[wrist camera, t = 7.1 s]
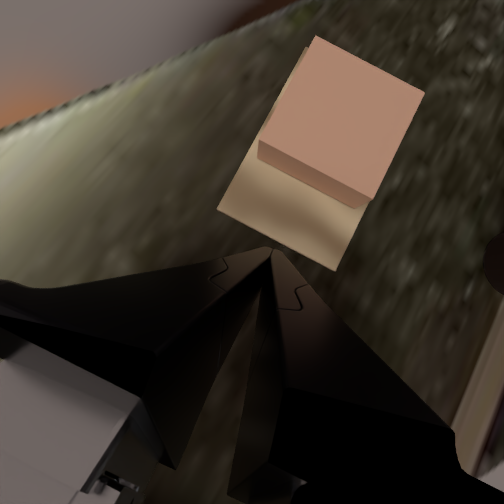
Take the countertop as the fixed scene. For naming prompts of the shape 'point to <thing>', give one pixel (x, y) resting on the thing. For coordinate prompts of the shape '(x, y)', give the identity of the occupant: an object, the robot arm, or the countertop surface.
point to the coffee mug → (495, 262)
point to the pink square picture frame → (339, 124)
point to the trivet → (290, 206)
